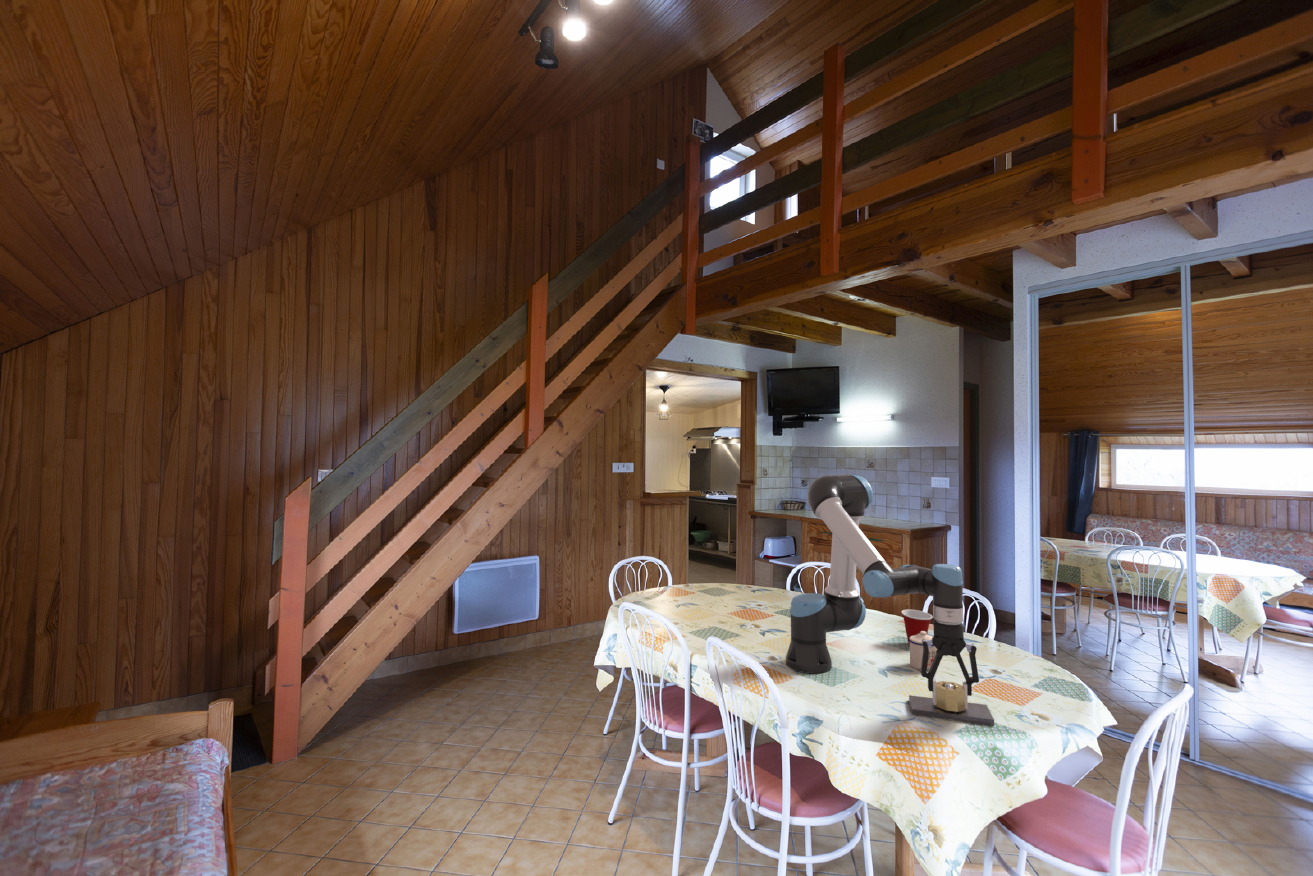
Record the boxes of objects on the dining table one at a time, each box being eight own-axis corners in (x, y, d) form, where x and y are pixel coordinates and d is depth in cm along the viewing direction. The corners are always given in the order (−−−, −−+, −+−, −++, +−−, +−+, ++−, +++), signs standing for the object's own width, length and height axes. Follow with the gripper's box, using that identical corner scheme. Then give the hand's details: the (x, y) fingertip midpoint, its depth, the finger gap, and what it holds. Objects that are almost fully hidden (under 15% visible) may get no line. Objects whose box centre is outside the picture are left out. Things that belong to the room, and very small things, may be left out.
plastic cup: (924, 651, 214) (924, 618, 215) (896, 644, 223) (895, 612, 223) (938, 645, 221) (937, 613, 222) (910, 638, 230) (910, 607, 230)
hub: (937, 709, 161) (937, 688, 161) (934, 700, 167) (934, 680, 168) (966, 713, 159) (965, 692, 159) (962, 703, 165) (961, 683, 165)
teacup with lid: (926, 673, 193) (925, 637, 194) (903, 664, 201) (902, 630, 202) (950, 667, 199) (950, 632, 199) (927, 659, 207) (926, 625, 207)
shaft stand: (911, 714, 162) (911, 687, 162) (909, 700, 171) (908, 674, 172) (994, 725, 155) (993, 696, 156) (986, 710, 165) (986, 683, 165)
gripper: (910, 621, 164) (911, 705, 163) (991, 628, 157) (993, 715, 157) (908, 615, 171) (909, 695, 170) (985, 621, 165) (987, 704, 164)
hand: (949, 704), depth 163 cm, fingers closed on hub, 7 cm apart
